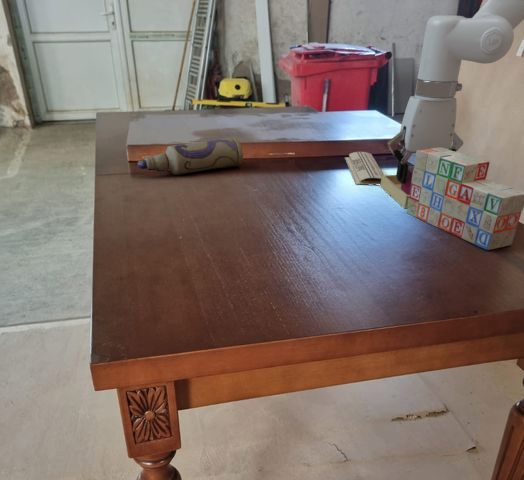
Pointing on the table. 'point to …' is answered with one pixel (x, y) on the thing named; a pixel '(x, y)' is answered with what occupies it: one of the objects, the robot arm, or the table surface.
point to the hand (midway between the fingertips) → (418, 180)
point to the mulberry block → (408, 181)
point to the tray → (394, 189)
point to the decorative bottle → (196, 157)
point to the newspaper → (364, 168)
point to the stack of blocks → (463, 198)
